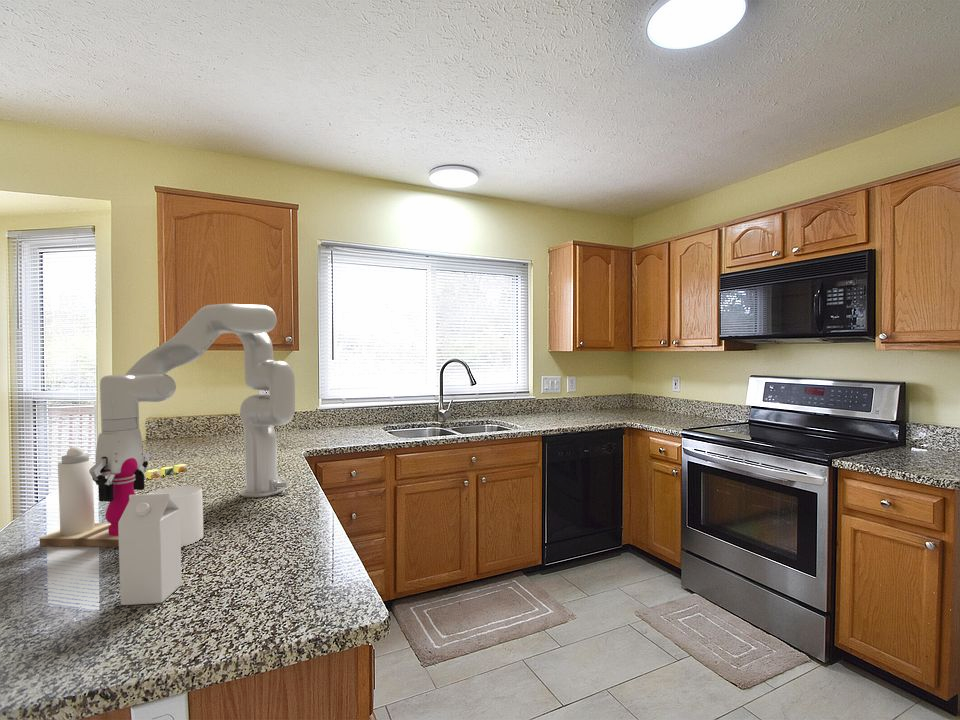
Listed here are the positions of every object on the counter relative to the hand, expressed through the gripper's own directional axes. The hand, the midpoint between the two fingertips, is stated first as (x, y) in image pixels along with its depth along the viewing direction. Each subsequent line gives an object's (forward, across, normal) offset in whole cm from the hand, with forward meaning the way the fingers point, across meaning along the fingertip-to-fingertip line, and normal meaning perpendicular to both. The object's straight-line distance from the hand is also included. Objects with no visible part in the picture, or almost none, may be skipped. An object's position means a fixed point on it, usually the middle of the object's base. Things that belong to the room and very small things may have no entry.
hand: (122, 495), depth 122 cm
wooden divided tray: (+11, 0, -6) cm, 12 cm away
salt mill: (+9, 0, -12) cm, 15 cm away
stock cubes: (+11, -57, -34) cm, 67 cm away
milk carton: (+11, +27, +28) cm, 40 cm away
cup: (+11, +1, +14) cm, 18 cm away
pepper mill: (+9, 0, 0) cm, 9 cm away
